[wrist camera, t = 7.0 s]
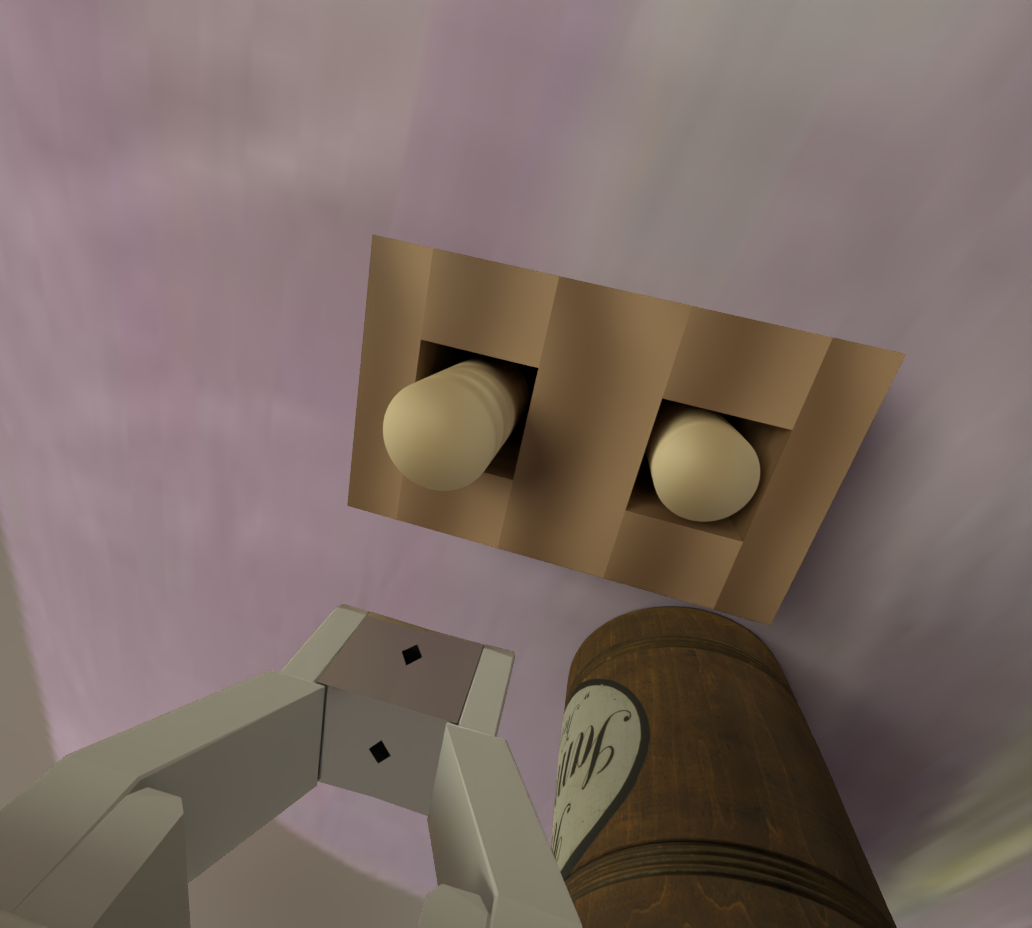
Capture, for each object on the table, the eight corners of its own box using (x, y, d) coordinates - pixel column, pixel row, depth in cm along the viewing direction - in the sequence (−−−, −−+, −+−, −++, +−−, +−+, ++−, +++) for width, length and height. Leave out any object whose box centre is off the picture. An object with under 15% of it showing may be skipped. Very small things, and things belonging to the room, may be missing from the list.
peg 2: (727, 400, 25) (777, 441, 18) (701, 468, 27) (737, 532, 19) (653, 382, 26) (672, 415, 18) (631, 450, 27) (640, 507, 20)
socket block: (806, 335, 25) (906, 353, 17) (723, 532, 29) (770, 625, 21) (445, 254, 27) (372, 234, 19) (417, 450, 31) (347, 505, 23)
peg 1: (537, 364, 23) (504, 395, 16) (519, 441, 24) (482, 503, 17) (458, 345, 23) (389, 367, 16) (445, 422, 25) (377, 474, 17)
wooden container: (561, 600, 33) (487, 1091, 13) (795, 607, 30) (1196, 1260, 10) (572, 761, 38) (530, 1312, 17) (776, 781, 35) (1019, 1472, 14)
